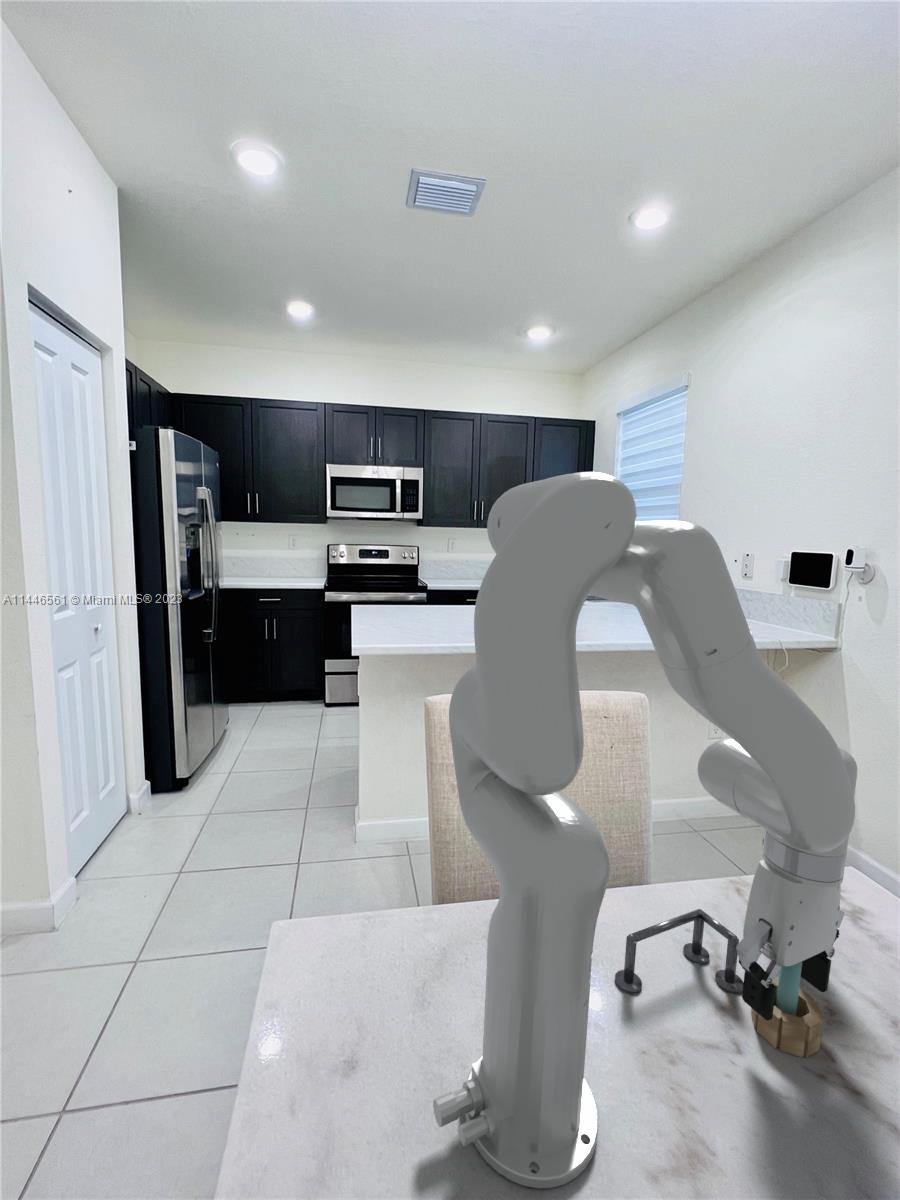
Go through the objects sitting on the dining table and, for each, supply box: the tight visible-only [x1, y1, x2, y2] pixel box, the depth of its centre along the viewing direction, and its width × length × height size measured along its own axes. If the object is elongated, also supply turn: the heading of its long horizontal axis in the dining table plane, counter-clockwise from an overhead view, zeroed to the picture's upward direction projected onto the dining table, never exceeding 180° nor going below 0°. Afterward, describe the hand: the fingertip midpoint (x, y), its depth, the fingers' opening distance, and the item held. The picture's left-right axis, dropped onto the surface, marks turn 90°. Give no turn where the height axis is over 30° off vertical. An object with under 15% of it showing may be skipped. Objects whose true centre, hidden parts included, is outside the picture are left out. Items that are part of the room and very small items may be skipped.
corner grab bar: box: [614, 908, 744, 995], centre depth 67 cm, size 15×8×6 cm, turn 115°
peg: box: [776, 961, 802, 1016], centre depth 61 cm, size 3×3×9 cm
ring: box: [750, 977, 824, 1059], centre depth 61 cm, size 6×6×4 cm
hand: (784, 995), depth 61 cm, fingers open, 9 cm apart
